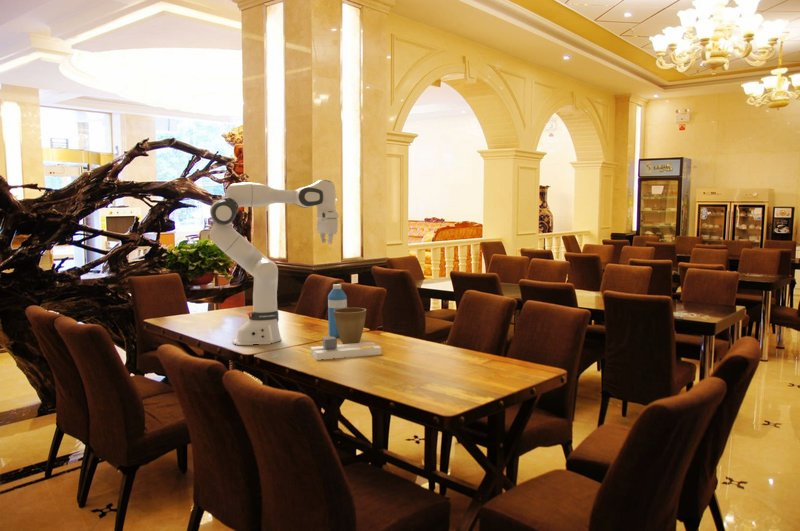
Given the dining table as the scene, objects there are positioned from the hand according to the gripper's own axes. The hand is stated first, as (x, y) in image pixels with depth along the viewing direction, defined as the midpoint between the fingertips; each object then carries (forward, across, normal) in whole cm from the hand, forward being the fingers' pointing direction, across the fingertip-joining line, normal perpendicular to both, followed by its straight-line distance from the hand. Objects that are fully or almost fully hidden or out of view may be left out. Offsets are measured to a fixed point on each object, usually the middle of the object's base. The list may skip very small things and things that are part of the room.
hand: (326, 243), depth 298 cm
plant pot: (+46, +20, +4) cm, 50 cm away
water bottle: (+46, -3, +6) cm, 46 cm away
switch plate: (+46, +38, -5) cm, 59 cm away
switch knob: (+44, +37, -12) cm, 58 cm away
